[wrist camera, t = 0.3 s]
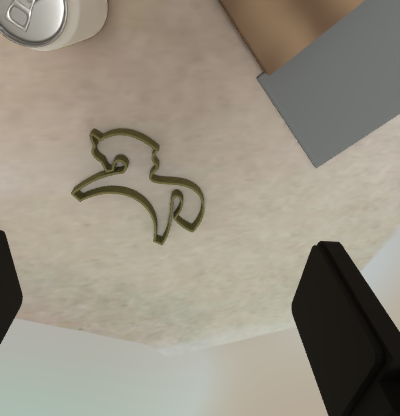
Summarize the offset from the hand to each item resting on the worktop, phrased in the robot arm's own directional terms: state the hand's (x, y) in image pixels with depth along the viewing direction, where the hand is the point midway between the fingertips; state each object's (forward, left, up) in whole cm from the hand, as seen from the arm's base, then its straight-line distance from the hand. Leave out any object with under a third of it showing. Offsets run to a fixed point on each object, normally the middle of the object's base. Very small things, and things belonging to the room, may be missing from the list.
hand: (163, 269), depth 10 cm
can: (+3, -12, -30) cm, 32 cm away
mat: (-15, +12, -30) cm, 36 cm away
